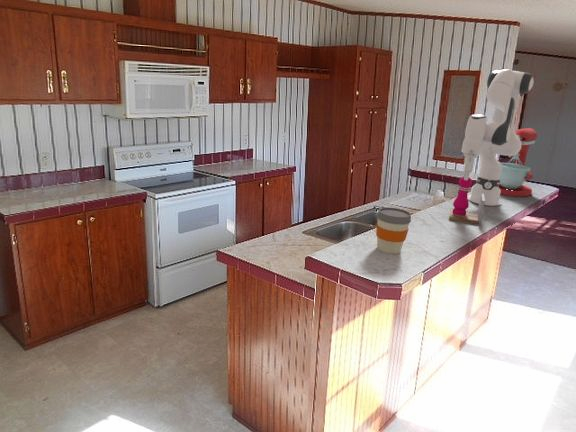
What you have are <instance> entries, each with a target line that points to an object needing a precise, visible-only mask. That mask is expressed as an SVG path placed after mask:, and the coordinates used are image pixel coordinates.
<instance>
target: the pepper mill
mask: <svg viewBox="0 0 576 432" xmlns="http://www.w3.org/2000/svg"><path fill="white" fill-rule="evenodd" d="M458 184H459V186H458V194H457V196H456V198H455V199H454V201H453V203H452V207H453V213H454V214H457V215H466V211H467V210H468V208H469V205H470V203H469V202H470V201H469V200H468V198H467V197H468V194H469V191H470V190H471V188H470V187H471V186H472V185H473V180H472V178H470V177H468V180H464V176H462V177H461V178H459V180H458Z"/></svg>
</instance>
